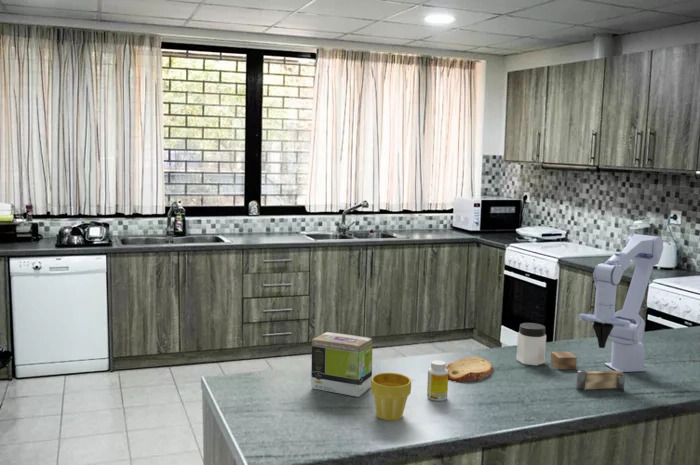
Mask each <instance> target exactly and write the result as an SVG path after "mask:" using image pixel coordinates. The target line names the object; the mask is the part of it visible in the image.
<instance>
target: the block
mask: <svg viewBox="0 0 700 465" xmlns="http://www.w3.org/2000/svg"><path fill="white" fill-rule="evenodd" d="M577 359H578V358H577V356H575V355H574V354H573V353H571V352H570V351H551V352H550V364H551V366H554V368H556V369H557V370H577Z"/></svg>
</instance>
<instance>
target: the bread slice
mask: <svg viewBox="0 0 700 465" xmlns="http://www.w3.org/2000/svg"><path fill="white" fill-rule="evenodd" d="M446 369H447V370H448V381H449V380H451V381H450V382H453V381H456V382H455V383H466V382H467V383H468V382H469V381H473V382H479V381H482V380H484V379H486V378H488V377H490V375H492V374H493V372H494V369H493V365H492V363H491V362H490V361H489V360H487V359H484V358H482V357H481V356H479V357H478V356H469V357H465V358H461V359H458V360H455V361H452V362H449V363H448V364H446ZM478 380H479V381H478Z"/></svg>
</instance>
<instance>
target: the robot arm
mask: <svg viewBox="0 0 700 465" xmlns="http://www.w3.org/2000/svg"><path fill="white" fill-rule="evenodd" d="M663 251H664V240H663V238H662V237H661V236H659V235H658V236H657V235H656V236H655V235H647V234H639V233H634V232H632V233H630V234H629V235H628V236H627V238H626V241H625V246H624V247H623V248H622V250H621V251H616V252H615V253H613V254H612V255H611V256H610V257H609V258H608V259H607V260H606V261H605V262H603V263H602V262H601V263H599V264H596V266H595V267H594V270H593V272H592V277H593V280H594V288H596V289H595V301H594V312H593V313H594V314H592V313H591V314H590V313H579V314H578V321H580V322H582V321H583V322H588V323H593V325H592V327H593V330H594V332H595V335H596V339H597V344H598V348H600V349H604V348H605V347H606V345H607V344H606V343H607V340H608V338H610V341H612V343H611V354H610V362H605V363H604V365H606V366H607V367H609V368H610V369H613V371H621V372H623V373H629V372H645V371H646V369H645V368H644V367H645V354H646V350H645V345H644V344H643V342H642V340H643V338H644V335H645V326H646V321H645V320H644V318H643V317H641V315H640V314H639V313H640V310H641V307H642V304H643V300H644V299H645V298H644V297H645V294H646V291H647V287H648V285H649V282H650V277H651V275H652V272H653V268H654V266H656V265H659V263H660V261H661V257H662V254H663ZM631 262H633V263H634V264H635V268H634V272H633V275H632V277H631V280H630V284H629V287H628V290H627V293H626V296H625V300H624V303H623V306H622V309H619V310H617V311H616V299H617V287H618V284H620V281H621V280H622V277H623V275H624V272H625V271H626V270H627V269H628V268H629V267H630V266H631ZM615 311H616V312H615Z"/></svg>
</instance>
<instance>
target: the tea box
mask: <svg viewBox="0 0 700 465" xmlns="http://www.w3.org/2000/svg"><path fill="white" fill-rule="evenodd" d="M310 375H311V379H310V380H311V389H314V390H317V391H318V390H319V391H324V392H331V393H336V394H340V395H341V394H342V395H345V396H346V395H347V396H351V397H357V398H359V397H360V396H362V395H363V394H364V393H366V392H367V391H368V390H369V389H371V378H372V377H373V376H372V375H373V338H372V337H368V336H362V335H361V336H359V335H354V334H353V335H352V334H346V333H338V332H331V331H326V332H324V333H322V334H320V335H318V336H317V337H314V338H312V339H311V374H310Z"/></svg>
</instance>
